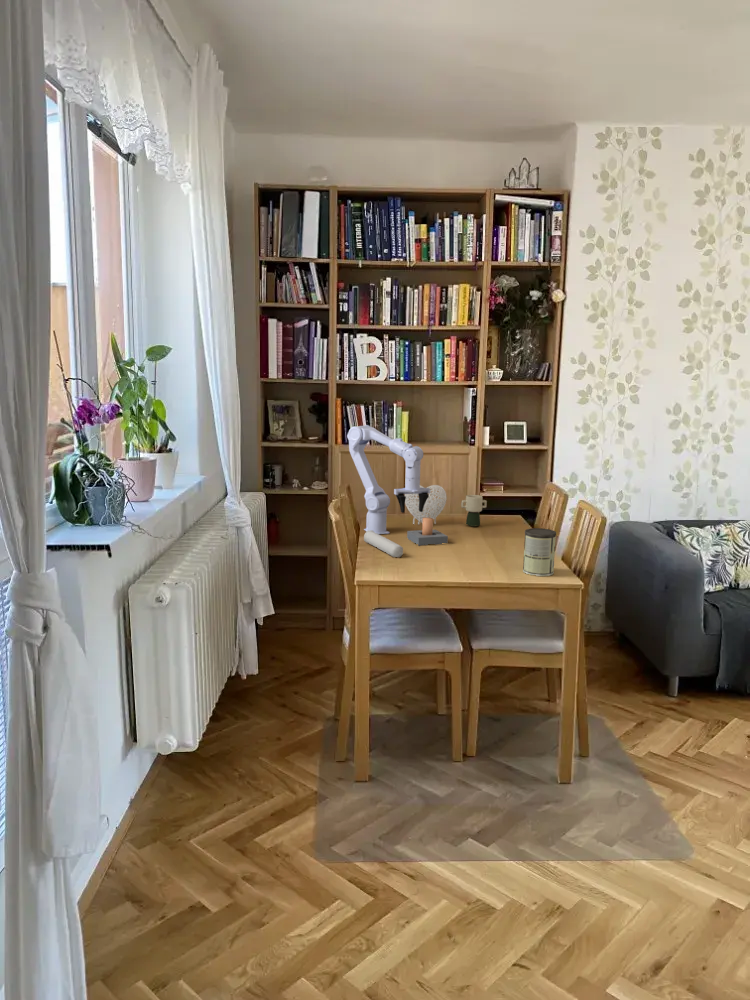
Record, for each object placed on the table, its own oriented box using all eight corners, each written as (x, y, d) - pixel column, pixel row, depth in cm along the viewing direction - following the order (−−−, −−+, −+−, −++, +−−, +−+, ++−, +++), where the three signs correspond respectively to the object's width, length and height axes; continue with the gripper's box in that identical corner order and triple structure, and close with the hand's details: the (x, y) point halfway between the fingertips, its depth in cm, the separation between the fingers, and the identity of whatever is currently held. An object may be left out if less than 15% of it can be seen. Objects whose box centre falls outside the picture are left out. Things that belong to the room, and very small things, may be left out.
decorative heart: (443, 521, 335) (444, 483, 332) (447, 527, 325) (449, 487, 322) (402, 521, 334) (403, 482, 331) (405, 527, 324) (406, 486, 320)
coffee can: (518, 568, 262) (520, 528, 260) (547, 568, 263) (550, 527, 261) (528, 576, 252) (530, 534, 250) (558, 576, 253) (561, 534, 251)
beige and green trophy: (483, 524, 332) (484, 494, 330) (487, 527, 325) (488, 497, 323) (458, 524, 331) (459, 494, 329) (462, 527, 324) (463, 497, 322)
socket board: (407, 538, 303) (407, 531, 302) (435, 536, 306) (435, 529, 306) (418, 545, 291) (418, 537, 291) (447, 543, 295) (447, 536, 295)
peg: (420, 540, 300) (421, 517, 299) (429, 539, 302) (430, 517, 300) (424, 542, 296) (425, 519, 295) (433, 542, 298) (434, 519, 296)
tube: (408, 547, 273) (378, 531, 295) (395, 543, 271) (366, 528, 293) (403, 561, 273) (373, 545, 295) (390, 558, 271) (361, 541, 293)
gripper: (398, 479, 294) (398, 514, 296) (433, 478, 299) (432, 513, 301) (392, 477, 300) (391, 511, 303) (426, 476, 305) (425, 509, 308)
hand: (411, 511), depth 302 cm, fingers open, 7 cm apart
